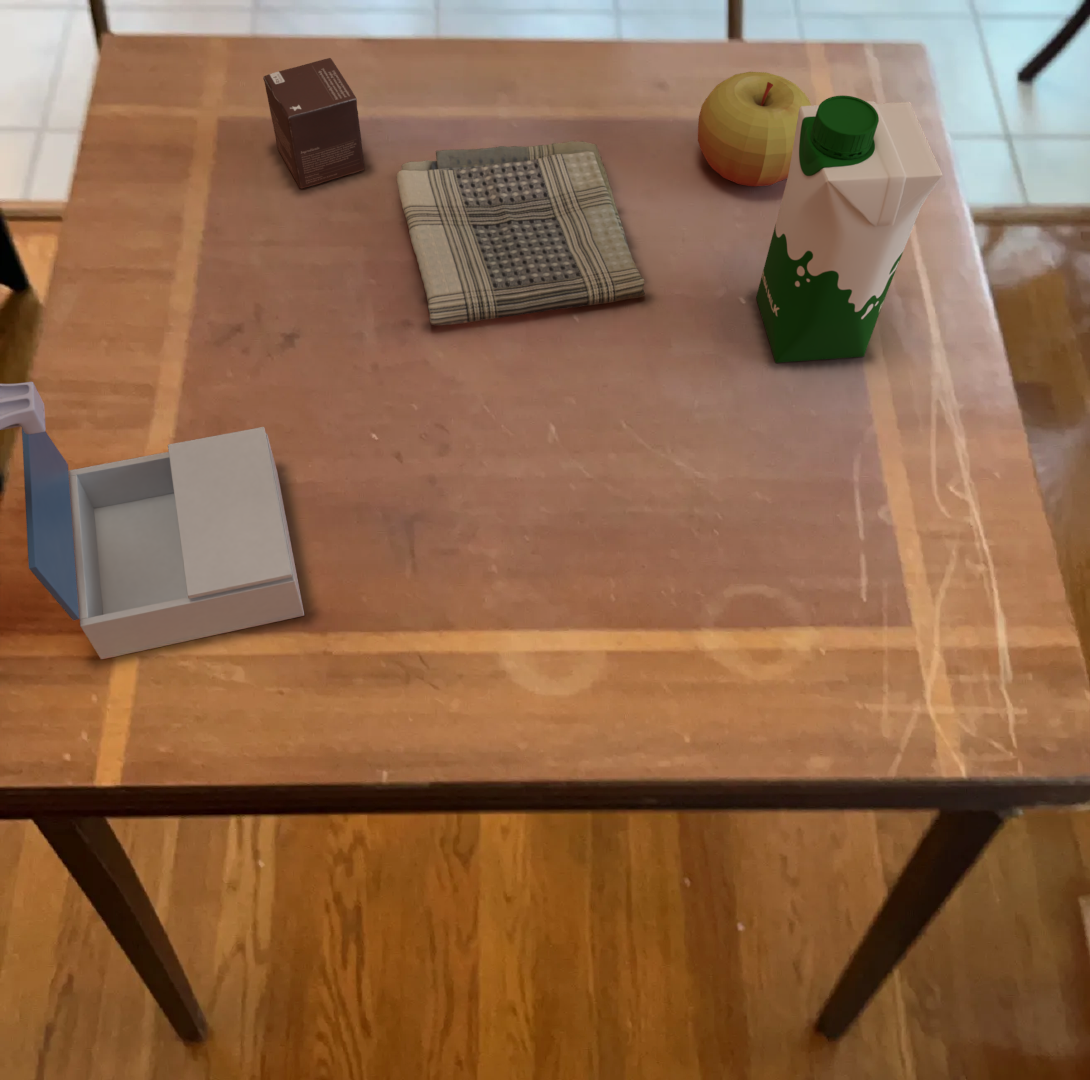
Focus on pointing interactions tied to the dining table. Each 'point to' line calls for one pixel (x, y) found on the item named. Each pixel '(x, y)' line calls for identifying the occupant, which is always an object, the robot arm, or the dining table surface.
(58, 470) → the flap
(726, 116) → the apple
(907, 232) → the milk carton
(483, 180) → the dish towel
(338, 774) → the dining table surface
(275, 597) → the carton
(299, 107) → the box
